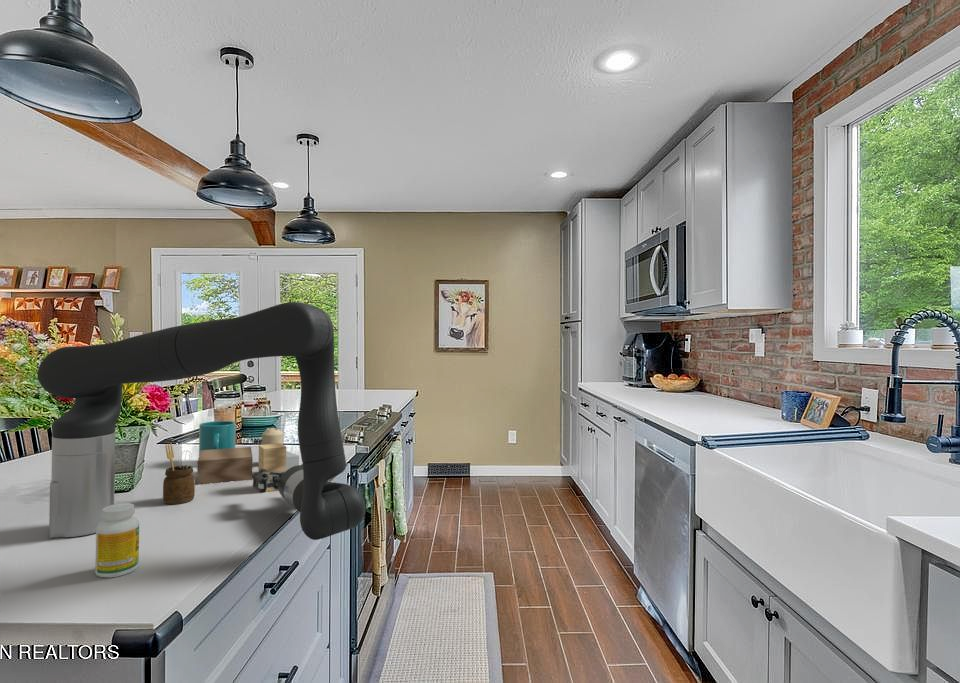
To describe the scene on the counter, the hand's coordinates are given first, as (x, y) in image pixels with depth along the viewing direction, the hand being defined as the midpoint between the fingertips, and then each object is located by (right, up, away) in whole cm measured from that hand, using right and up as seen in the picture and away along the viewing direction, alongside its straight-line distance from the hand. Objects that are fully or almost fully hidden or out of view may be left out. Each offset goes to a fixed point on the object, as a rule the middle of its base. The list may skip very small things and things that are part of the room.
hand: (282, 471), depth 116 cm
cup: (-29, -6, +30) cm, 42 cm away
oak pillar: (-5, -6, +8) cm, 11 cm away
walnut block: (-21, -6, +18) cm, 29 cm away
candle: (-15, -6, +31) cm, 35 cm away
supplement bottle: (-11, -6, -37) cm, 39 cm away
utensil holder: (-21, -6, -3) cm, 22 cm away
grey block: (-9, -6, +21) cm, 24 cm away
